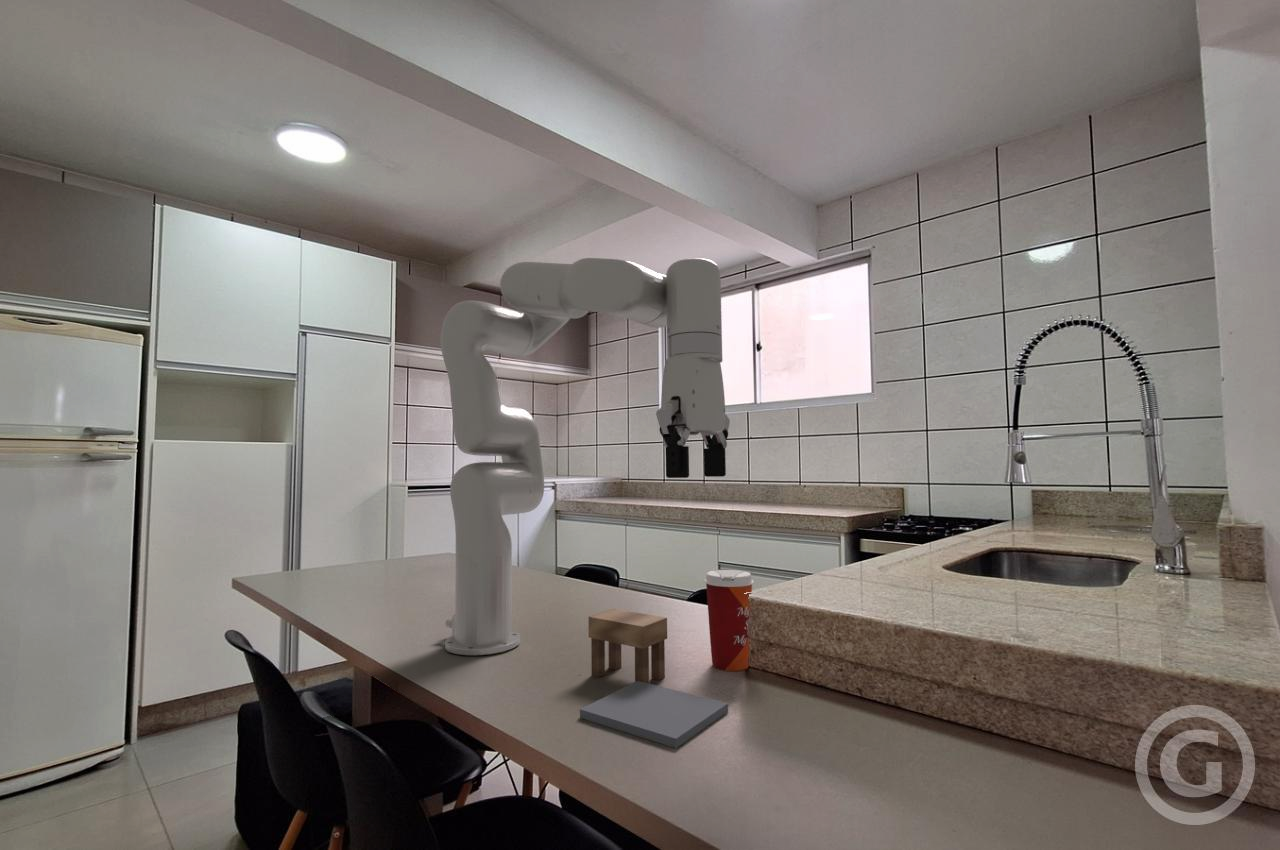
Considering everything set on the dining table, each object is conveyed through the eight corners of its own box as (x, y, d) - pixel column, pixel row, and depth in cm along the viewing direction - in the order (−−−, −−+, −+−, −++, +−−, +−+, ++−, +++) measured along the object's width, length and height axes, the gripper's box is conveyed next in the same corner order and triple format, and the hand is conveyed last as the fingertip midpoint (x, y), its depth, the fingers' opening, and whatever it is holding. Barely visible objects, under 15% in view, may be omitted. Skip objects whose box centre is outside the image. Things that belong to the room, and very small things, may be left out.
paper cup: (755, 675, 88) (753, 578, 89) (703, 672, 90) (701, 576, 91) (756, 658, 96) (754, 569, 97) (707, 656, 97) (706, 568, 98)
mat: (579, 717, 74) (579, 709, 74) (637, 688, 83) (637, 680, 83) (676, 748, 65) (676, 738, 65) (728, 711, 75) (727, 703, 75)
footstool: (588, 675, 88) (588, 616, 89) (614, 664, 93) (613, 608, 94) (643, 689, 83) (643, 626, 83) (667, 677, 87) (667, 617, 88)
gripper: (702, 363, 91) (705, 476, 90) (634, 345, 77) (636, 478, 76) (747, 357, 87) (750, 476, 86) (684, 337, 73) (687, 478, 72)
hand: (697, 477), depth 81 cm, fingers open, 9 cm apart
